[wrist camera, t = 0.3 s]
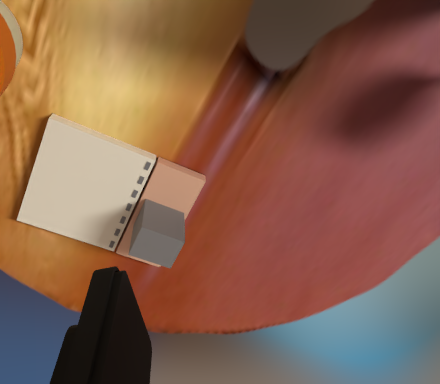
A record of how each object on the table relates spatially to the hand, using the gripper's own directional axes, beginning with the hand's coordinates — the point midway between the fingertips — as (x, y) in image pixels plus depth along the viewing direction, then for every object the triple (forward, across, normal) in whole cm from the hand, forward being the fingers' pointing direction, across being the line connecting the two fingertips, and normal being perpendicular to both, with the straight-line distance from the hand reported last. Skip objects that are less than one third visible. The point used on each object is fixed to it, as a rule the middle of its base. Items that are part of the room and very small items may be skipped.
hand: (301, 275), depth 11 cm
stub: (+36, +10, +18) cm, 41 cm away
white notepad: (+36, +17, +12) cm, 42 cm away
